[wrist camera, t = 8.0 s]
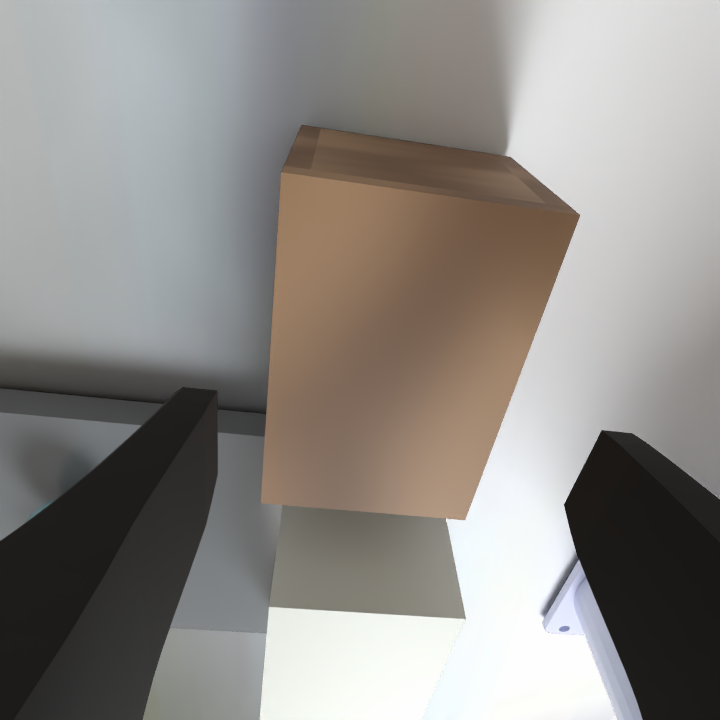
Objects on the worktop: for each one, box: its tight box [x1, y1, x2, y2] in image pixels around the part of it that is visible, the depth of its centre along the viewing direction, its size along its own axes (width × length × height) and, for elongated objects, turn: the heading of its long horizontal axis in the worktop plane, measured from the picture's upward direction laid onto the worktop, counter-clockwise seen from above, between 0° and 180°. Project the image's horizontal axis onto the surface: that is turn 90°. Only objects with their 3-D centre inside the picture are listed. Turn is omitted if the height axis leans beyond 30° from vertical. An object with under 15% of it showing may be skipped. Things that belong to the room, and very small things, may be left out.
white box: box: [260, 505, 466, 720], centre depth 19 cm, size 6×9×5 cm, turn 172°
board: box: [0, 388, 448, 633], centre depth 21 cm, size 18×12×1 cm, turn 82°
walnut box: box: [261, 125, 580, 520], centre depth 14 cm, size 6×9×5 cm, turn 172°
